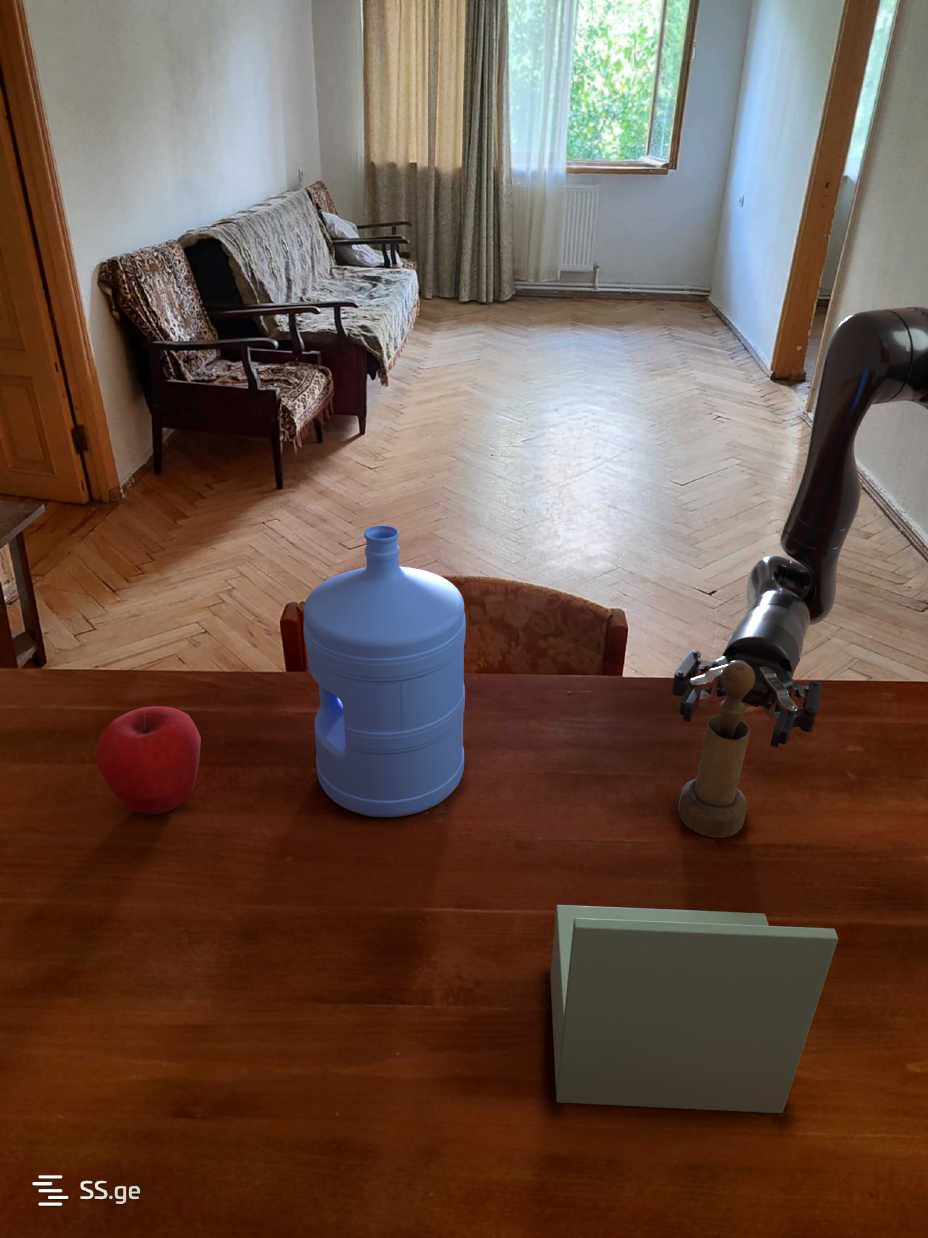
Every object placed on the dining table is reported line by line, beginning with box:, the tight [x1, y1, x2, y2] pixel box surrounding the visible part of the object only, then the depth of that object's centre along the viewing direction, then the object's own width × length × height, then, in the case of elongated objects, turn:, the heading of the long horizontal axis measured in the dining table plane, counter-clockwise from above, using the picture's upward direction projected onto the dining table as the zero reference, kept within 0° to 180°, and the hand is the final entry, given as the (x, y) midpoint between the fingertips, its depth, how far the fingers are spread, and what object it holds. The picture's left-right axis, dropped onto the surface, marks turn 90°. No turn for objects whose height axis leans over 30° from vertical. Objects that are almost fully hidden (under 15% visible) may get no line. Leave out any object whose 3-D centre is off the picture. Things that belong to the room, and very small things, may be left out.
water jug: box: [303, 525, 467, 818], centre depth 88 cm, size 16×16×28 cm
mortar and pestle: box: [677, 662, 755, 839], centre depth 85 cm, size 7×6×18 cm
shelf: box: [549, 904, 839, 1114], centre depth 63 cm, size 16×11×18 cm
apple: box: [94, 705, 202, 815], centre depth 87 cm, size 10×10×11 cm
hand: (730, 726), depth 86 cm, fingers open, 8 cm apart
